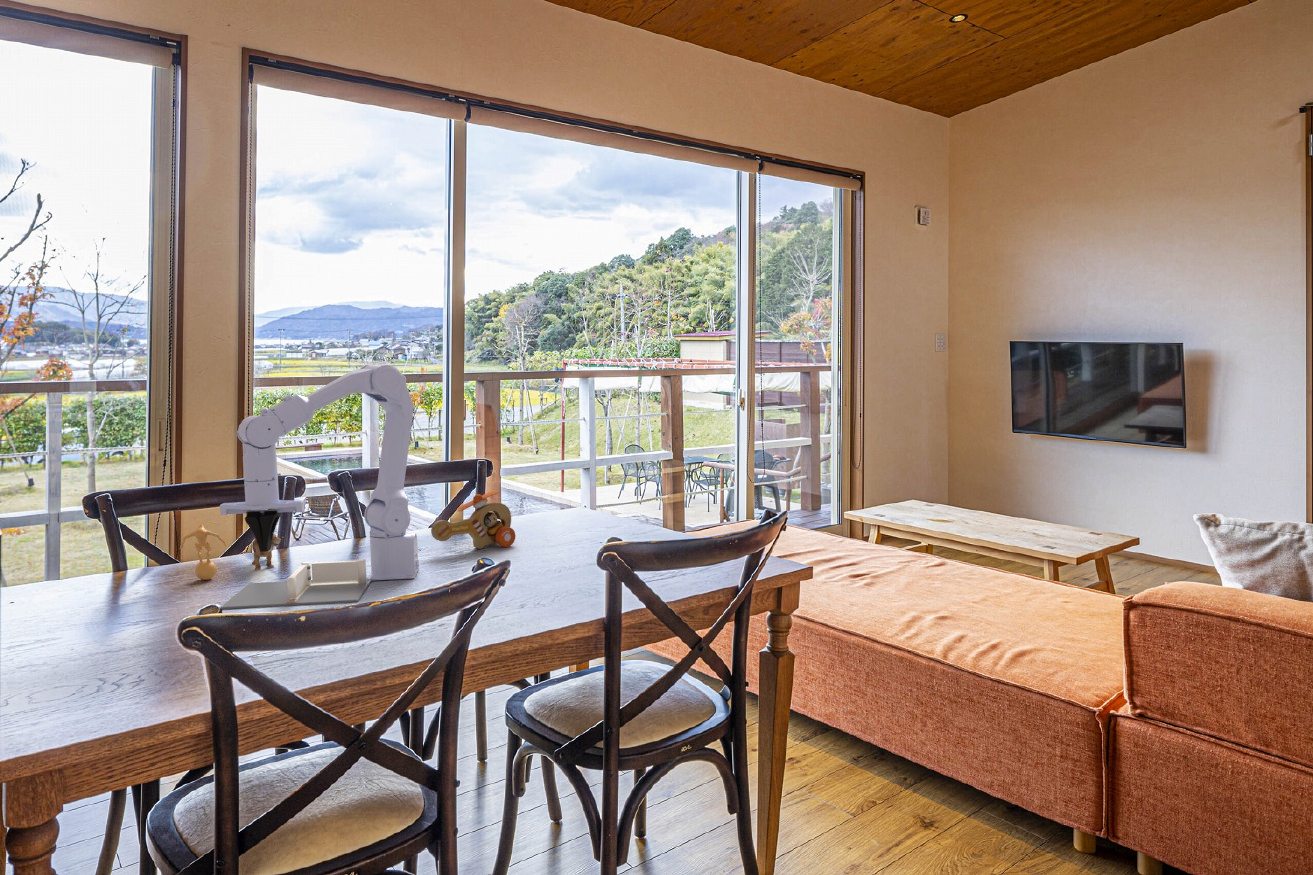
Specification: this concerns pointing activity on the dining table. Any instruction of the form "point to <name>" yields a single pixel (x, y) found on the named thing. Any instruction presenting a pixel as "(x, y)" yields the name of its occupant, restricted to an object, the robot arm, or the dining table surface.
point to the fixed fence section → (337, 571)
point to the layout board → (312, 594)
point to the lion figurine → (264, 553)
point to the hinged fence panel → (297, 581)
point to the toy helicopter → (480, 523)
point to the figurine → (204, 568)
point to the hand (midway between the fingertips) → (265, 550)
